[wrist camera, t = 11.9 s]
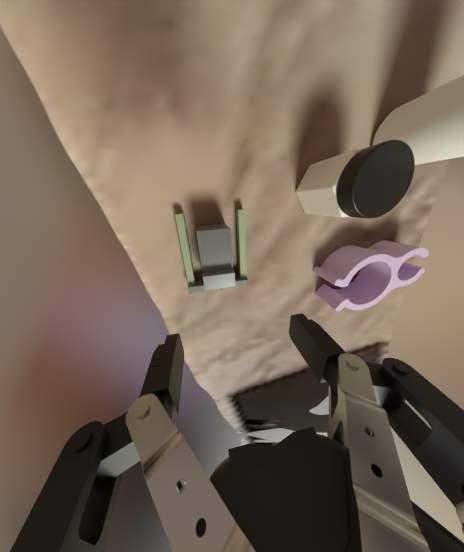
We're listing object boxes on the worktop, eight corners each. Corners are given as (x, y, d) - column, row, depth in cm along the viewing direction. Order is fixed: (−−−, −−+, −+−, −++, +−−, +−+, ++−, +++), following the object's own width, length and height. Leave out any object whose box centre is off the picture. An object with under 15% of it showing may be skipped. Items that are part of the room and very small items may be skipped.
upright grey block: (197, 226, 29) (195, 233, 22) (224, 223, 30) (232, 229, 23) (203, 272, 33) (204, 290, 26) (228, 269, 33) (235, 286, 27)
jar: (344, 198, 31) (418, 195, 21) (307, 223, 32) (361, 234, 21) (330, 149, 28) (413, 115, 17) (289, 180, 28) (343, 166, 18)
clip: (394, 227, 36) (433, 232, 30) (387, 274, 42) (420, 287, 36) (310, 258, 36) (333, 270, 30) (315, 302, 41) (336, 320, 35)
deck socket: (176, 213, 27) (174, 214, 25) (242, 209, 29) (246, 209, 26) (190, 285, 33) (189, 293, 31) (244, 278, 35) (248, 285, 32)
